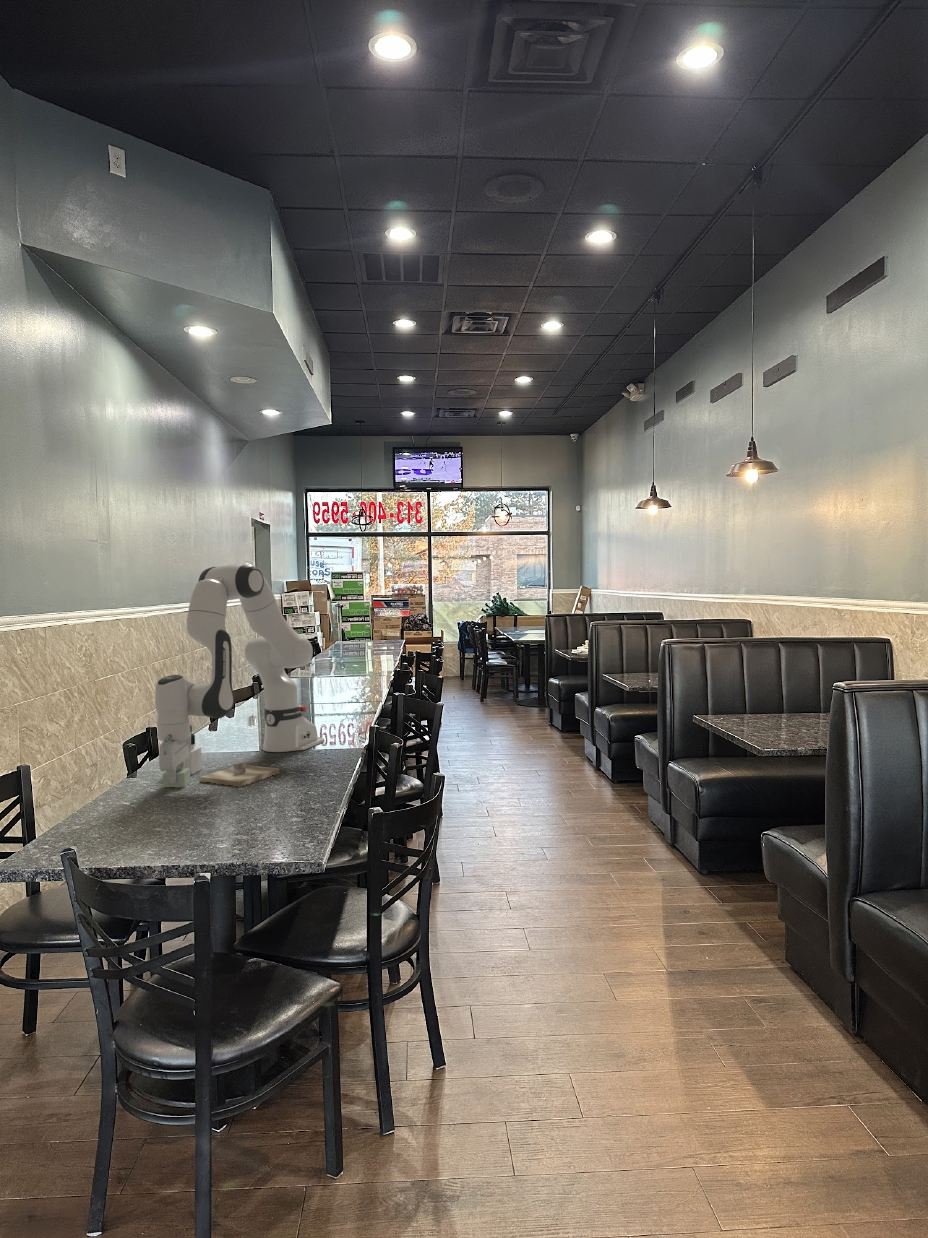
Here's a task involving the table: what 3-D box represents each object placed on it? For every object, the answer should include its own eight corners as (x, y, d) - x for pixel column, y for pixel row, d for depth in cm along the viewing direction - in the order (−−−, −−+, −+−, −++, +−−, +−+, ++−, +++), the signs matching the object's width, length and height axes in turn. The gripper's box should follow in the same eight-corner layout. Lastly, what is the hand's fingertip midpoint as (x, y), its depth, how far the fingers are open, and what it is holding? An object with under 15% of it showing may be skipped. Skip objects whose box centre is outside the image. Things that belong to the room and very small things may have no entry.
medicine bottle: (202, 769, 248) (200, 731, 248) (192, 775, 241) (190, 736, 240) (180, 769, 249) (178, 731, 248) (170, 775, 242) (167, 736, 241)
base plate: (240, 769, 246) (240, 754, 246) (279, 773, 238) (278, 758, 238) (200, 781, 232) (199, 766, 232) (239, 787, 224) (238, 771, 224)
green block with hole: (169, 782, 232) (168, 769, 232) (190, 781, 233) (189, 768, 233) (163, 788, 226) (162, 774, 226) (185, 786, 227) (184, 773, 227)
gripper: (175, 738, 219) (178, 787, 220) (193, 724, 239) (196, 770, 240) (151, 740, 218) (154, 789, 219) (172, 726, 239) (175, 771, 239)
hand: (176, 779), depth 230 cm, fingers closed on green block with hole, 6 cm apart
